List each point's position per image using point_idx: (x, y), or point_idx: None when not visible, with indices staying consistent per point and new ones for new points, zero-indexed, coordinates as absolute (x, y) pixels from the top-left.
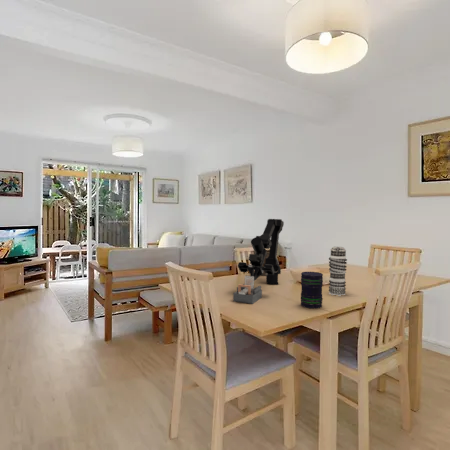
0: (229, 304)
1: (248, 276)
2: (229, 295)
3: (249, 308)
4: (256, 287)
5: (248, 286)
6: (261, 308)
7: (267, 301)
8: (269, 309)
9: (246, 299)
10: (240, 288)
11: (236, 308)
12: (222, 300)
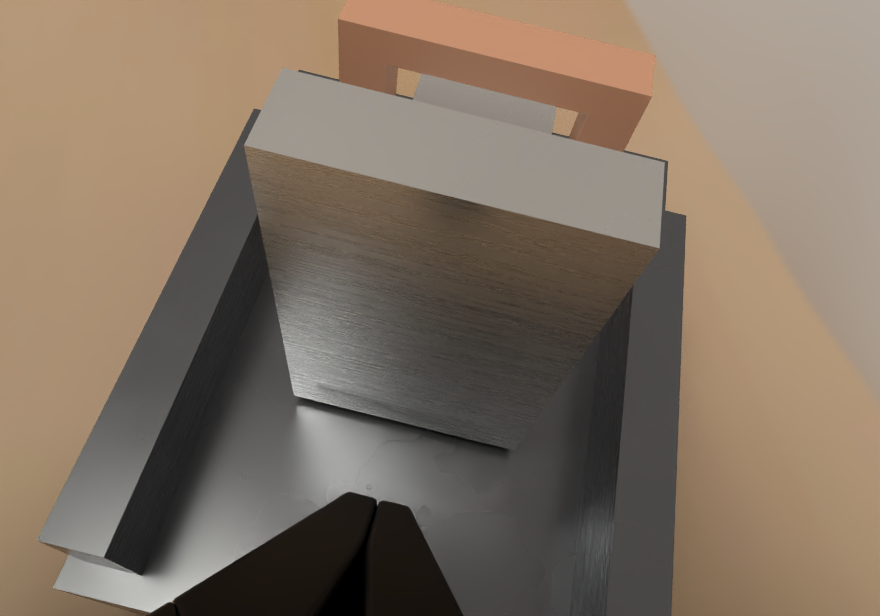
0: None
1: (493, 132)
2: (827, 599)
3: (335, 20)
4: (209, 302)
5: (394, 2)
6: (181, 32)
7: (39, 340)
8: (77, 11)
9: None
10: (576, 129)
11: (484, 8)
12: (776, 261)
